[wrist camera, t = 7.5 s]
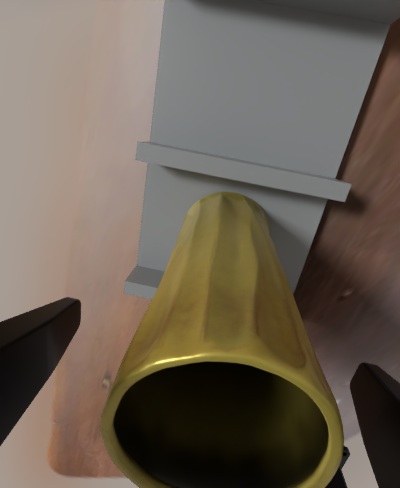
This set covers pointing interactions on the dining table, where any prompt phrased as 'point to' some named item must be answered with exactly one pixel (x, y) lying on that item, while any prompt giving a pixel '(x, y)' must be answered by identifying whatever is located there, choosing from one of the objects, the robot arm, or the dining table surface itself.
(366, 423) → the robot arm
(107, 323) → the dining table surface
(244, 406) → the vase
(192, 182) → the tiered shelf
